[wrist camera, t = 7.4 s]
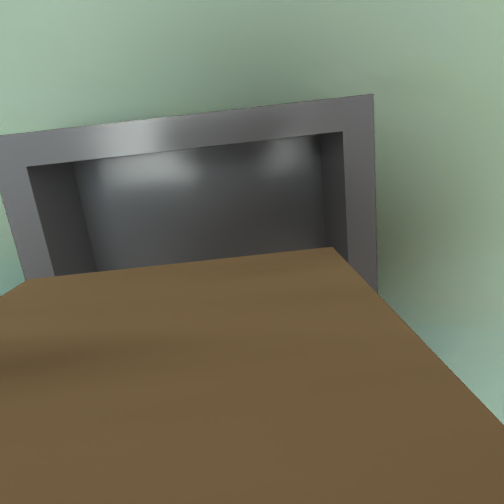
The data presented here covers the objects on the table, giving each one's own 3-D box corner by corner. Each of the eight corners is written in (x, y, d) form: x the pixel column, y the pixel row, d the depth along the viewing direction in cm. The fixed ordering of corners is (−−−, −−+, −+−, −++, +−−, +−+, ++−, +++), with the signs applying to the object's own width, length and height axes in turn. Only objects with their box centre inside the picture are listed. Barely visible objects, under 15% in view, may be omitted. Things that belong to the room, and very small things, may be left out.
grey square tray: (347, 358, 19) (380, 419, 15) (111, 386, 19) (75, 456, 15) (336, 108, 16) (373, 93, 12) (52, 139, 16) (-16, 137, 12)
